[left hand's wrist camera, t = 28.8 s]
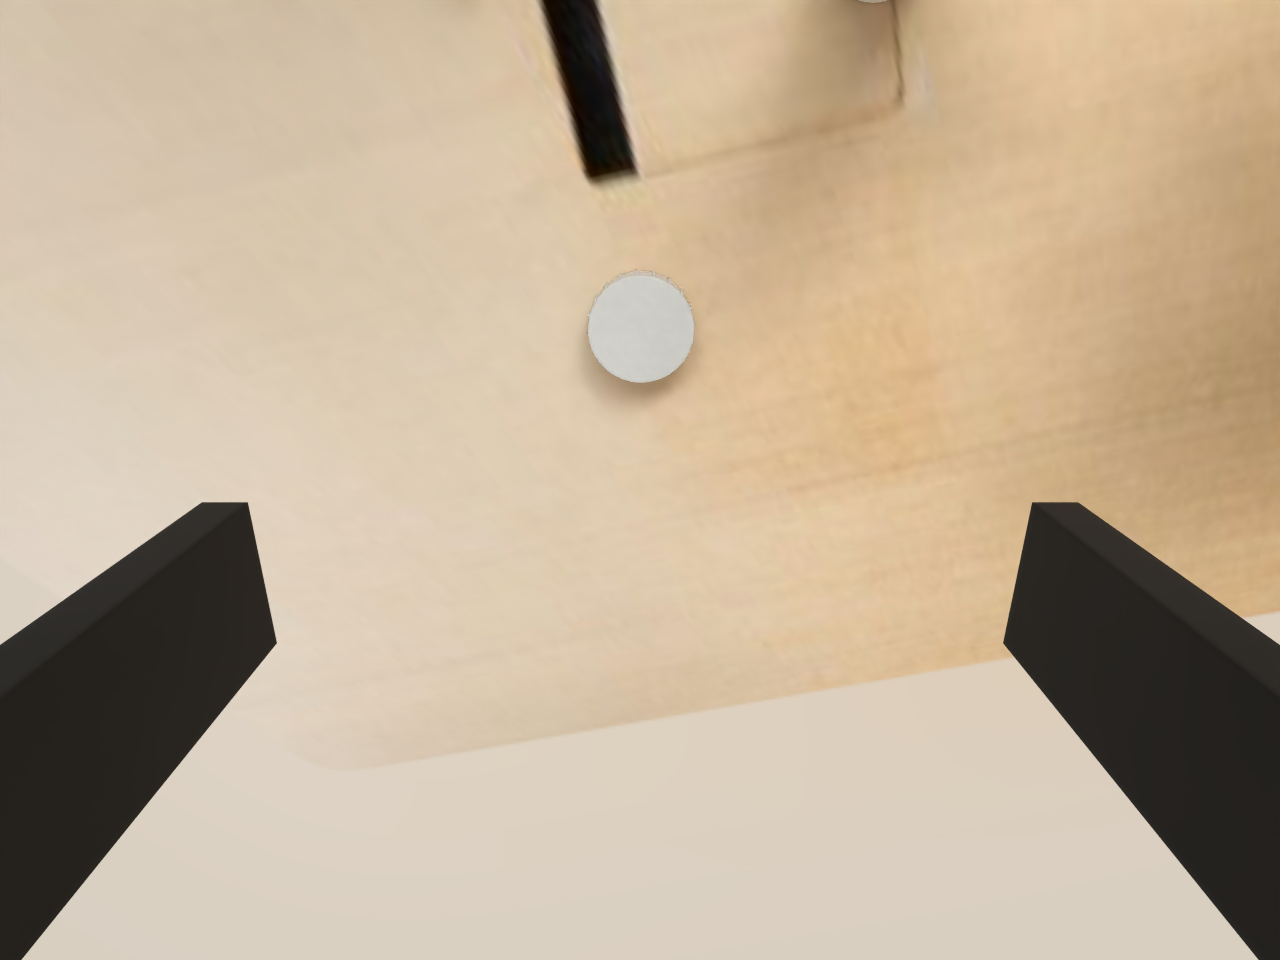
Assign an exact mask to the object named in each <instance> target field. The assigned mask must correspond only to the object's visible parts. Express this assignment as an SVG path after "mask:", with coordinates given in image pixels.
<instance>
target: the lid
mask: <svg viewBox="0 0 1280 960" xmlns="http://www.w3.org/2000/svg"><path fill="white" fill-rule="evenodd" d="M683 294H684V293H683V291H682V289H681V288H680V289H679V288H678V287H677V286H676V285H675V284H674V283H673V282H672V281H670V278H669V277H668V278H666V277H664V276H662V275H659V274H657V273H655V272H654V271H652V272H648V271H638V270H636V271H634V272H629V273H626V274H622V273H621V274H620V275H619V276H618V277H616V278H615V279H613V280H612V281H610V282H609V283H608V282H607V283H606V284H605V287H604V288H603V289H602V290H601V292H600V293H599V295H596V297H595V299H594V301H595V302H594V305H593V307H592V310H590V312H589V314H588V317H589V321H588V331H587V334H588V337H589V343H590V346H591V350H592V351H593V353H594V355H595V357H596V358H597V360H598V361H599V363H600V364H601V365H602V366H603V367H604V368H605V369H606V370H607V371H608V372H610V373H611V374H613V375H614V376H616V377H618V378H620V379H623V380H626V381H630V382H637V383H645V382H652V381H656V380H659V379H662V378H664V377H666V376H668V375H669V374H671V373H672V372H674V371H675V370H676V369H677V368H678V367H679V366H680V365H681V364H682V363H683V361H684V360H685V359H686V357H687V355H688V353H689V351H690V349H691V346H692V343H693V341H694V340H693V338H694V326H695V322H694V320H693V316H692V312H691V309H692V307H691V305H690V303H689V302H687V300H686V298H685V296H684V295H683Z"/></svg>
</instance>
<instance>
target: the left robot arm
mask: <svg viewBox="0 0 1280 960" xmlns="http://www.w3.org/2000/svg"><path fill="white" fill-rule="evenodd" d="M276 644H277V642H276V637H275V632H274V627H273V622H272V617H271V613H270V608H269V603H268V598H267V593H266V588H265V584H264V579H263V574H262V569H261V564H260V559H259V555H258V550H257V545H256V540H255V535H254V530H253V525H252V521H251V516H250V511H249V506H248V502H202V503H201V504H199V505H198V506H196V507H195V508H193V509H192V510H191V511H189V512H188V513H186V514H185V515H184V516H182V517H181V518H179V519H178V520H176V521H175V522H174V523H172V524H171V525H169V526H168V527H167V528H165V529H164V530H162V531H161V532H159V533H158V534H157V535H155V536H154V537H152V538H151V539H150V540H148V541H147V542H145V543H144V544H142V545H141V546H140V547H138V548H137V549H135V550H134V551H133V552H131V553H130V554H128V555H127V556H126V557H124V558H123V559H121V560H120V561H118V562H117V563H116V564H114V565H113V566H111V567H110V568H109V569H107V570H106V571H104V572H103V573H101V574H100V575H99V576H97V577H96V578H94V579H93V580H92V581H90V582H89V583H87V584H86V585H84V586H83V587H82V588H80V589H79V590H77V591H76V592H75V593H73V594H72V595H70V596H69V597H67V598H66V599H65V600H63V601H62V602H60V603H59V604H58V605H56V606H55V607H53V608H52V609H51V610H49V611H48V612H46V613H45V614H43V615H42V616H41V617H39V618H38V619H36V620H35V621H34V622H32V623H31V624H29V625H28V626H26V627H25V628H24V629H22V630H21V631H19V632H18V633H17V634H15V635H14V636H12V637H11V638H9V639H8V640H7V641H5V642H4V643H2V644H1V645H0V960H22V958H23V957H24V956H25V955H26V953H27V952H28V951H29V950H30V948H31V947H32V946H33V945H34V943H35V942H36V941H37V940H38V938H39V937H40V936H41V935H42V934H43V932H44V931H45V930H46V929H47V927H48V926H49V925H50V924H51V922H52V921H53V920H54V919H55V917H56V916H57V915H58V914H59V912H60V911H61V910H62V909H63V907H64V906H65V905H66V904H67V902H68V901H69V900H70V899H71V898H72V896H73V895H74V894H75V893H76V891H77V890H78V889H79V888H80V886H81V885H82V884H83V883H84V881H85V880H86V879H87V878H88V877H89V875H90V874H91V873H92V872H93V870H94V869H95V868H96V867H97V865H98V864H99V863H100V862H101V860H102V859H103V858H104V857H105V855H106V854H107V853H108V852H109V850H110V849H111V848H112V847H113V846H114V844H115V843H116V842H117V840H118V839H119V838H120V837H121V836H122V834H123V833H124V832H125V831H126V829H127V828H128V827H129V826H130V824H131V823H132V822H133V821H134V819H135V818H136V817H137V816H138V815H139V813H140V812H141V811H142V810H143V808H144V807H145V806H146V805H147V803H148V802H149V801H150V800H151V798H152V797H153V796H154V795H155V793H156V792H157V791H158V790H159V788H160V787H161V786H162V785H163V783H164V782H165V781H166V780H167V779H168V777H169V776H170V775H171V774H172V772H173V771H174V770H175V769H176V767H177V766H178V765H179V764H180V762H181V761H182V760H183V759H184V758H185V756H186V755H187V754H188V753H189V751H190V750H191V749H192V748H193V746H194V745H195V744H196V743H197V741H198V740H199V739H200V738H201V736H202V735H203V734H204V733H205V732H206V730H207V729H208V728H209V727H210V725H211V724H212V723H213V722H214V720H215V719H216V718H217V717H218V715H219V714H220V713H221V712H222V710H223V709H224V708H225V707H226V705H227V704H228V703H229V702H230V701H231V699H232V698H233V697H234V696H235V694H236V693H237V692H238V691H239V689H240V688H241V687H242V686H243V684H244V683H245V682H246V681H247V679H248V678H249V677H250V676H251V674H252V673H253V672H254V671H255V670H256V668H257V667H258V666H259V665H260V663H261V662H262V661H263V660H264V658H265V657H266V656H267V655H268V653H269V652H270V651H271V650H272V648H273V647H274V646H275V645H276ZM1003 644H1004V645H1005V646H1006V647H1007V648H1008V650H1009V651H1010V652H1011V653H1012V655H1013V656H1014V657H1015V658H1016V660H1017V661H1018V662H1019V663H1020V665H1021V666H1022V667H1023V668H1024V669H1025V671H1026V672H1027V673H1028V674H1029V676H1030V677H1031V678H1032V679H1033V681H1034V682H1035V683H1036V684H1037V686H1038V687H1039V688H1040V689H1041V691H1042V692H1043V693H1044V694H1045V696H1046V697H1047V698H1048V699H1049V701H1050V702H1051V703H1052V704H1053V705H1054V707H1055V708H1056V709H1057V710H1058V712H1059V713H1060V714H1061V715H1062V717H1063V718H1064V719H1065V720H1066V722H1067V723H1068V724H1069V725H1070V726H1071V728H1072V729H1073V730H1074V731H1075V733H1076V734H1077V735H1078V736H1079V738H1080V739H1081V740H1082V741H1083V743H1084V744H1085V745H1086V746H1087V748H1088V749H1089V750H1090V751H1091V753H1092V754H1093V755H1094V756H1095V757H1096V759H1097V760H1098V761H1099V762H1100V764H1101V765H1102V766H1103V767H1104V769H1105V770H1106V771H1107V772H1108V774H1109V775H1110V776H1111V777H1112V778H1113V780H1114V781H1115V782H1116V784H1117V785H1118V786H1119V787H1120V788H1121V790H1122V791H1123V792H1124V793H1125V795H1126V796H1127V797H1128V798H1129V800H1130V801H1131V802H1132V803H1133V805H1134V806H1135V807H1136V808H1137V810H1138V811H1139V812H1140V813H1141V815H1142V816H1143V817H1144V818H1145V820H1146V821H1147V822H1148V823H1149V824H1150V826H1151V827H1152V828H1153V829H1154V831H1155V832H1156V833H1157V834H1158V836H1159V837H1160V838H1161V839H1162V841H1163V842H1164V843H1165V844H1166V846H1167V847H1168V848H1169V849H1170V850H1171V852H1172V853H1173V854H1174V855H1175V857H1176V858H1177V859H1178V860H1179V862H1180V863H1181V864H1182V865H1183V867H1184V868H1185V869H1186V870H1187V872H1188V873H1189V874H1190V875H1191V877H1192V878H1193V879H1194V880H1195V881H1196V883H1197V884H1198V885H1199V886H1200V888H1201V889H1202V890H1203V891H1204V893H1205V894H1206V895H1207V896H1208V898H1209V899H1210V900H1211V901H1212V903H1213V904H1214V905H1215V906H1216V907H1217V909H1218V910H1219V911H1220V912H1221V914H1222V915H1223V916H1224V917H1225V919H1226V920H1227V921H1228V922H1229V924H1230V925H1231V926H1232V927H1233V929H1234V930H1235V931H1236V932H1237V934H1238V935H1239V936H1240V937H1241V938H1242V940H1243V941H1244V942H1245V943H1246V945H1247V946H1248V947H1249V948H1250V950H1251V951H1252V952H1253V953H1254V955H1255V956H1256V957H1257V958H1258V960H1280V645H1279V644H1278V643H1276V642H1275V641H1273V640H1272V639H1271V638H1269V637H1268V636H1266V635H1265V634H1263V633H1262V632H1261V631H1259V630H1258V629H1256V628H1255V627H1254V626H1252V625H1251V624H1249V623H1248V622H1246V621H1245V620H1244V619H1242V618H1241V617H1239V616H1238V615H1237V614H1235V613H1234V612H1232V611H1231V610H1230V609H1228V608H1227V607H1225V606H1224V605H1222V604H1221V603H1220V602H1218V601H1217V600H1215V599H1214V598H1213V597H1211V596H1210V595H1208V594H1207V593H1205V592H1204V591H1203V590H1201V589H1200V588H1198V587H1197V586H1196V585H1194V584H1193V583H1191V582H1190V581H1188V580H1187V579H1186V578H1184V577H1183V576H1181V575H1180V574H1179V573H1177V572H1176V571H1174V570H1173V569H1171V568H1170V567H1169V566H1167V565H1166V564H1164V563H1163V562H1162V561H1160V560H1159V559H1157V558H1156V557H1154V556H1153V555H1152V554H1150V553H1149V552H1147V551H1146V550H1145V549H1143V548H1142V547H1140V546H1139V545H1138V544H1136V543H1135V542H1133V541H1132V540H1130V539H1129V538H1128V537H1126V536H1125V535H1123V534H1122V533H1121V532H1119V531H1118V530H1116V529H1115V528H1113V527H1112V526H1111V525H1109V524H1108V523H1106V522H1105V521H1104V520H1102V519H1101V518H1099V517H1098V516H1096V515H1095V514H1094V513H1092V512H1091V511H1089V510H1088V509H1087V508H1085V507H1084V506H1082V505H1081V504H1079V503H1078V502H1032V506H1031V511H1030V516H1029V521H1028V525H1027V530H1026V535H1025V540H1024V545H1023V550H1022V555H1021V559H1020V564H1019V569H1018V574H1017V579H1016V584H1015V588H1014V593H1013V598H1012V603H1011V608H1010V613H1009V617H1008V622H1007V627H1006V632H1005V637H1004V642H1003Z"/></svg>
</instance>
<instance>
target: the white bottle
mask: <svg viewBox="0 0 1280 960" xmlns="http://www.w3.org/2000/svg"><path fill="white" fill-rule="evenodd" d="M859 1H862V2H868V3H879V2H884V1H887V0H859Z"/></svg>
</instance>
